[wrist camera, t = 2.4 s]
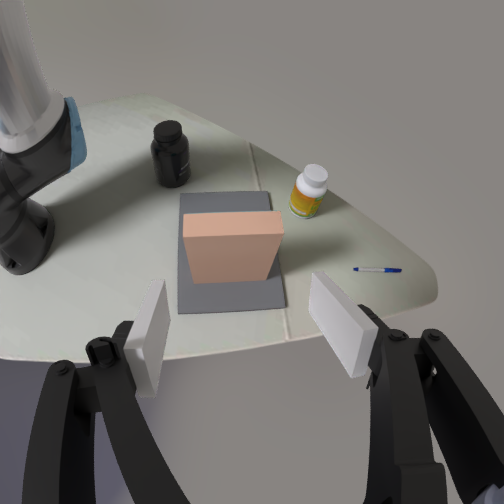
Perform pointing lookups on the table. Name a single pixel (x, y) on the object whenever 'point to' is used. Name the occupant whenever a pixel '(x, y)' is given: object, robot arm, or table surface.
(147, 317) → the robot arm
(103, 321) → the table surface
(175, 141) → the supplement bottle
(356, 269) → the ballpoint pen
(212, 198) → the mat
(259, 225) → the tile
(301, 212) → the supplement bottle
